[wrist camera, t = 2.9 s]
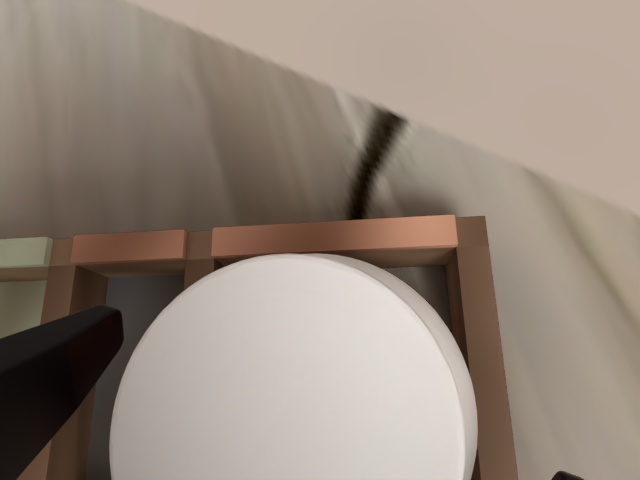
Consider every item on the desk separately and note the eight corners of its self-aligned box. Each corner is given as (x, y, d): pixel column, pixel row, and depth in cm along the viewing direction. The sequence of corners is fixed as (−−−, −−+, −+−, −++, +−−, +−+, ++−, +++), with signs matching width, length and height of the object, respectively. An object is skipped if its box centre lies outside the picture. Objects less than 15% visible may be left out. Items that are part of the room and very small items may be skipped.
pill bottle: (253, 313, 18) (74, 215, 7) (419, 300, 17) (486, 172, 7) (257, 496, 16) (22, 727, 5) (442, 488, 15) (588, 731, 5)
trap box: (470, 238, 17) (486, 212, 15) (509, 581, 14) (540, 627, 12) (-104, 266, 20) (-178, 248, 17) (-179, 562, 17) (-284, 597, 14)
